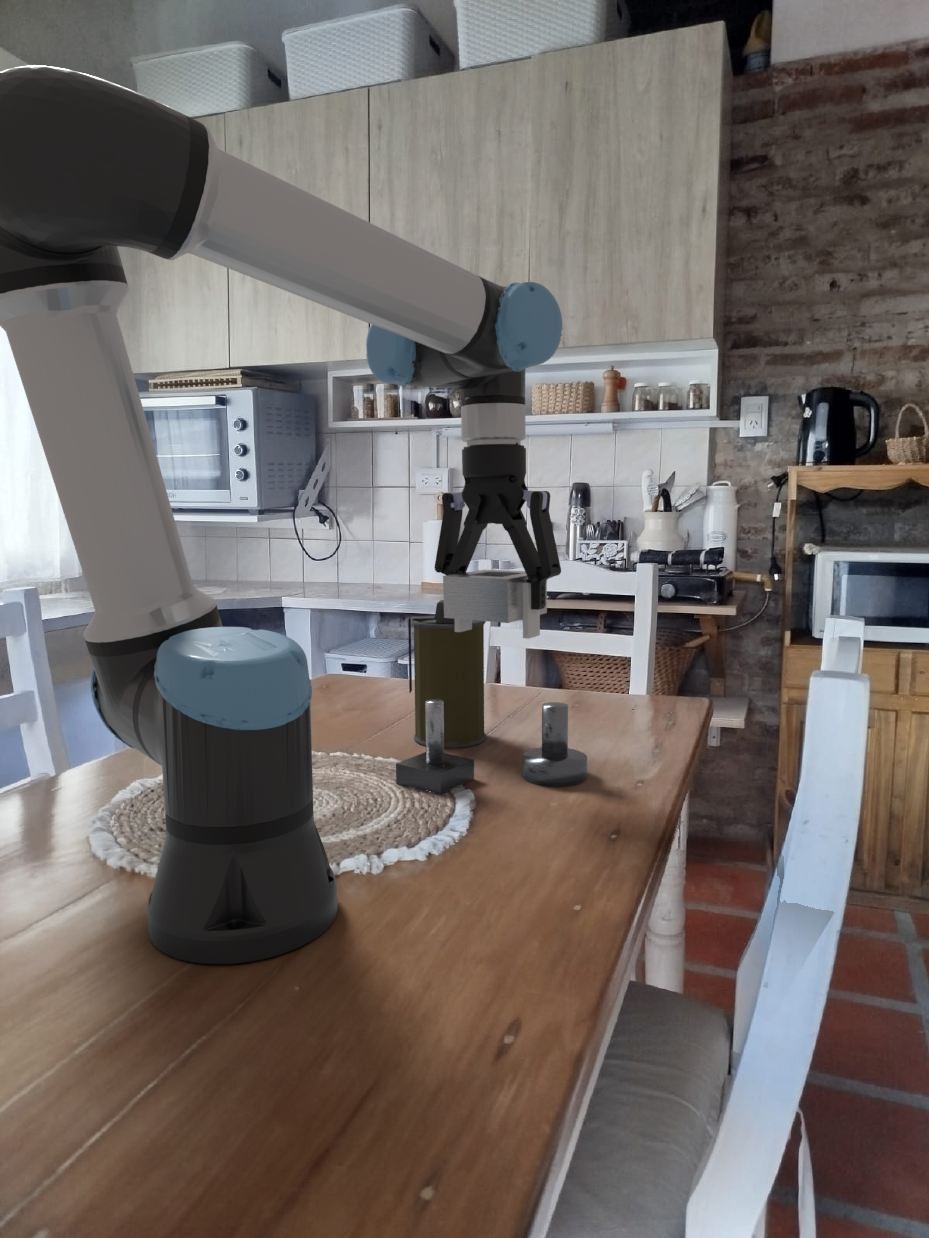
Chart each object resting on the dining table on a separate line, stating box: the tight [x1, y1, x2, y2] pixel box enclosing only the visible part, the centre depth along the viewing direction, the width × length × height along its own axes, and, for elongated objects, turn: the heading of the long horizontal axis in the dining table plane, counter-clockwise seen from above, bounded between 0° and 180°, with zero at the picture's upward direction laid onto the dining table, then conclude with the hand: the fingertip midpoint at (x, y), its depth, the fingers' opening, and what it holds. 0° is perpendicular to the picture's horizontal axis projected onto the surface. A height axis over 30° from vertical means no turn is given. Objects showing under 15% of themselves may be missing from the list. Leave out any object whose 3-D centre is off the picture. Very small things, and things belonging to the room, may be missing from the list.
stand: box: [395, 699, 475, 795], centre depth 103 cm, size 7×7×10 cm
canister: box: [407, 599, 487, 749], centre depth 121 cm, size 11×10×20 cm
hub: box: [521, 701, 588, 788], centre depth 104 cm, size 8×8×9 cm
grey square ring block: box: [442, 569, 548, 624], centre depth 101 cm, size 9×9×5 cm
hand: (496, 633), depth 102 cm, fingers closed on grey square ring block, 9 cm apart
